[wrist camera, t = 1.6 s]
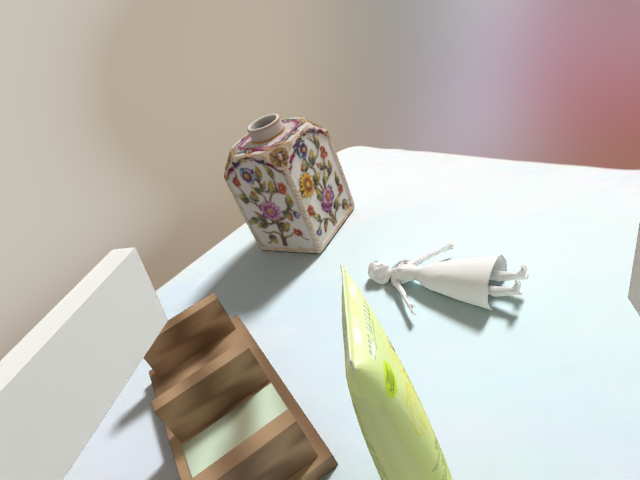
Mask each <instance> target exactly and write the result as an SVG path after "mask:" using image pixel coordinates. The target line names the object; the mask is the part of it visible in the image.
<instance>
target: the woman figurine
mask: <svg viewBox="0 0 640 480" xmlns="http://www.w3.org/2000/svg"><path fill="white" fill-rule="evenodd" d="M451 244H452V245H451ZM451 244H448V245H446V246H444V247H442V248H441V249H439V250H437V251H434V252H432V253H430V254H427V255H425V256H422V257H420V258H418V259H416V260H414V261H411V262H409V263H406V262H408V261H410V260H406V259H405V260H403V261H399V262H398V263H397V264H395V265H394V266H393V267H392V268H391V269H390V268H389V267H388V265H387V264H386V263H385V262H383V263H382V262H378V261H373V262H371V263H370V264H369V267H368V274H369V276H370V278H371V279H372V280H374V281H375V282H377V283H379V284H386V283H387V282H388V281H389V280H390V277H391V285H392V286H393V287H396V288H397V290H398V291H399V293H400V295H401V296H402V298H403V299H404V301H405V302H406V304H407V306H408V308H409V309H410V311H411V312H412V314H413V315H415V314H416V313H414V312H413V307H415V306H414V305H413V304H410V302H409V300H408V299H407V295H406V292H405V290H404V289H403V287H402V286H401V284H404V283H406V282H409V281H413V280H417V281H418V282H419V283H420V284H421V285H422V286H424V287H426V288H428V289H430V290H432V291H435V292H438V293H440V294H443V295H446V296H448V297H451V298H454V299H457V300H459V301H462V302H466V303H469V304H473V305H476V306H479V307H483V308H486V309H489V310H493V308H490V306H489V303H488V295H492V296H494V297H498V296H509V295H522V290H519V289H520V287H521V283H520V281H518V280H521V279H528V274H526V270H527V269H526V266H523V265H521V268H522V269H521V270H520V271H519V272H518V273H515V272H507V265H506V260H505V258H504V257H503V255H493V256H483V257H472V258H464V259H457V260H449V261H442V262H436V263H431V264H427V265H423V266H420V267H417V265H419V264H421V263H422V262H424V261H426V260H428V259H430V258H431V257H433V256H435V255H437V254H439V253H441V252H445V251H447V250H450V249H453V248H451V247H453V245H454V244H453V243H451ZM401 262H402V263H401ZM400 263H401V264H400ZM399 264H400V265H399ZM398 265H399V266H398ZM489 280H497V281H509V280H515V282H516V283H515V285H514V286H513V287H501V286H488V283H489Z"/></svg>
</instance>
